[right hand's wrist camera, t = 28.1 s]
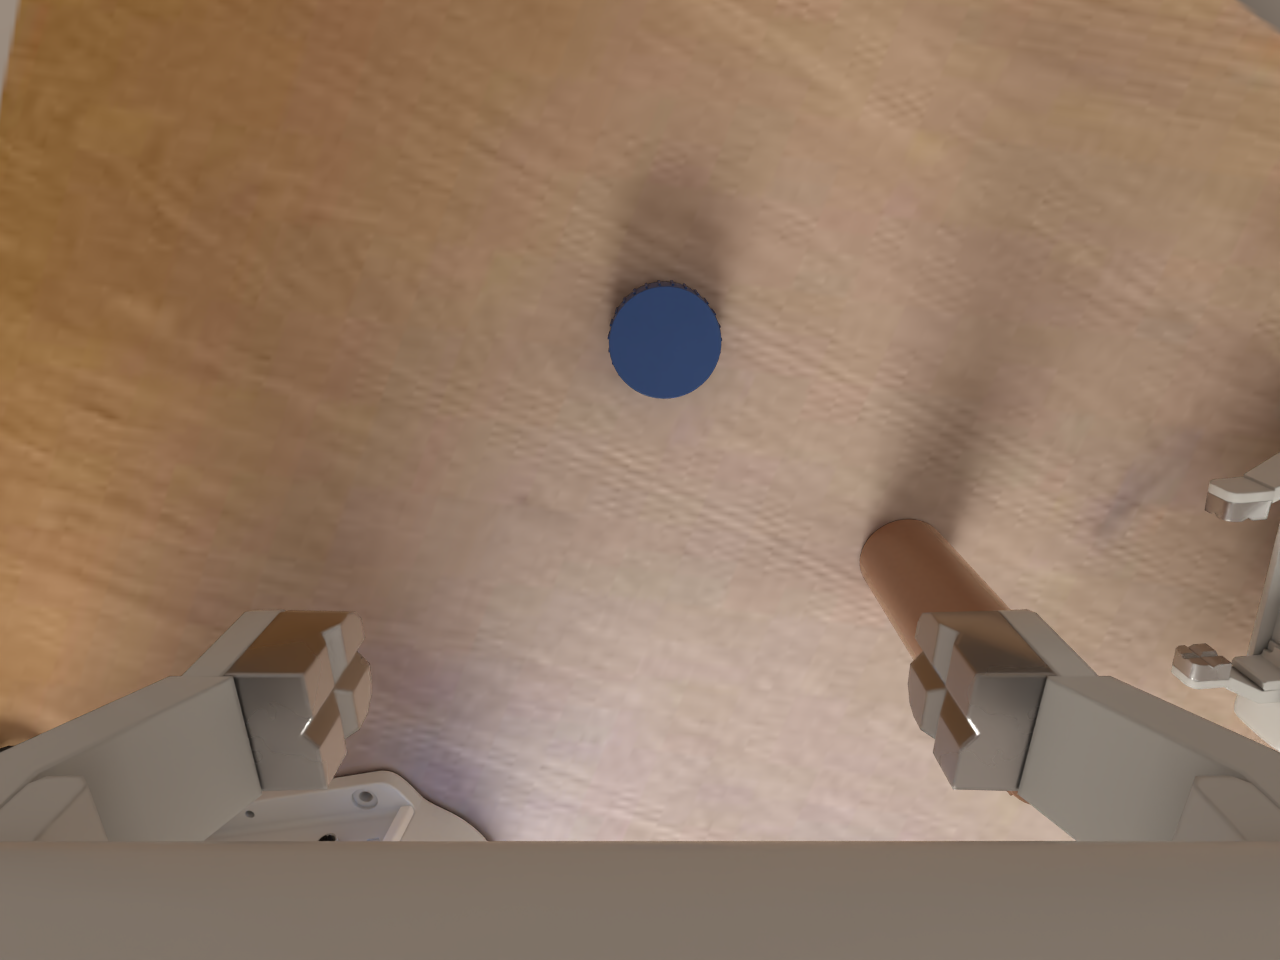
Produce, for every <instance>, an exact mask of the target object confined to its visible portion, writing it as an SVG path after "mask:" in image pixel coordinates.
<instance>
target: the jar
mask: <svg viewBox="0 0 1280 960" xmlns="http://www.w3.org/2000/svg"><path fill="white" fill-rule="evenodd" d="M860 570H861V573H862V575H863V578H864V579H865V581H866V583H867V584H868V586H869V588H870V589H871V591H872V593H873V594H874V596H875V597H876V599H877V601H878V602H879V604H880V606H881V607H882V609H883V611H884V612H885V614H886V616H887V617H888V619H889V621H890V622H891V624H892V625H893V627H894V629H895V630H896V632H897V634H898V635H899V637H900V639H901V640H902V642H903V644H904V645H905V647H906V648H907V650H908V652H909V653H910V655H911V657H912V658H913V660H915V659H916V658H917V657H918V656H919V654H920V653H921V652H922V651H923V650H922V649H921V647H920V645H919V644H918V642H917V641H916V639H915V634H916V628H917V623H918V621H919V618H920V616H921V614H922V613H928V612H964V611H998V610H1011V609H1010V608H1009V607H1008V606H1007V605H1006V604H1005V603H1004V602H1003V601H1002V600H1001V599H1000V598H999V596H998V595H997V594H996V593H995V592H994V591H993V590H992V589H991V588H990V587H989V586H988V585H987V583H986V582H985V581H984V580H983V579H982V578H981V577H980V576H979V575H978V574H977V573H976V572H975V571H974V569H973V568H972V567H971V566H970V565H969V564H968V563H967V562H966V561H965V560H964V559H963V558H962V556H961V555H960V554H959V553H958V552H957V551H956V550H955V549H954V548H953V547H952V546H951V545H950V544H949V542H948V541H947V540H946V539H945V538H944V537H943V536H942V535H941V534H940V533H939V532H938V531H937V530H936V529H935V528H934V527H933V526H931V525H930V524H928V523H925V522H923V521H919V520H913V519H904V520H898V521H894V522H891V523H888V524H886V525H884V526H883V527H881V528H879V529H878V530H877V531H875V532H874V533H873V534H872V535H871V536H870V537H869V539H868V540H867V541H866V543H865V545H864V547H863V549H862V552H861V556H860ZM1007 792H1008V793H1009V794H1010V795H1014V796H1015V797H1017V798H1018V799H1019V800H1021V801H1023V802H1025V803H1028V802H1027V801H1026V800H1024V799H1023V798H1022V797H1021V796H1019V795H1018V794H1017V793H1018V791H1007ZM1028 804H1029V803H1028ZM1030 805H1031V804H1030Z"/></svg>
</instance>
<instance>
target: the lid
mask: <svg viewBox="0 0 1280 960" xmlns="http://www.w3.org/2000/svg"><path fill="white" fill-rule="evenodd" d="M708 304H709V303H708V302H707V300H706V299H705V298H704V299H703V298H702V297H701V296H700V295H699V293H698V292H697V291H696V290H692V289H690V288H689V287H687V286H686V285H685V284H684V283H683V285H682V284H679V283H675V282H673V280H671V281H670V282H667V281H663V282H660V280H658V282H654V283H650V284H647V283H645V285H644V286H642V287H640V288H638V289H633V292H632V293H631V294H630V295H628V296H627V297H624V298H623V302H622V303H621V305H620V306H619V307H617V308H616V311H615V316H614V319H611V323H610V326H611V330H610V331H609V335H608V339H609V350H608V351H609V352H610V356H611V359H612V364H613V365H614V367H615V369H616V371H617V373H618V375H619V376H620V377H621V378H622V379H623V381H624V382H625V383H626V384H628V385H629V386H630V387H631V388H633V389H634V390H635V391H637V392H639V393H641V394H643V395H646V396H649V397H654V398H661V399H667V398H675V397H680V396H683V395H685V394H688V393H690V392H692V391H693V390H695V389H697V388H698V387H699V386H701V385H702V384H703V383H704V382H705V381H706V380H707V379H708V377H709V376H710V375H711V373H712V372H713V370H714V368H715V367H716V364H717V362H718V359H719V355H720V353H721V352H720V351H721V341H722V338H721V332H720V325H719V323H718V321H717V319H716V317H715V315H716V313H715V312H714V311H713V309H711V308H710V307H709V306H708Z"/></svg>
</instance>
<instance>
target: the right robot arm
mask: <svg viewBox="0 0 1280 960" xmlns="http://www.w3.org/2000/svg"><path fill="white" fill-rule="evenodd" d="M364 639H365V634H364V629H363V624H362V620H361V617H360V616H359V615H358V614H357V613H356V612H355V611H305V610H287V611H285V610H253V611H248V612H244V613H243V614H242V616H241V617H240V618H239V619H238V620H237V621H236V622H235V623H234V624H233V625H232V626H231V627H230V628H229V629H228V630H227V631H226V632H225V633H224V634H223V635H222V636H221V637H220V638H219V639H218V640H217V641H216V642H215V643H214V644H213V645H212V646H211V647H210V648H209V649H208V650H207V651H206V652H205V653H204V654H203V655H202V656H201V657H200V658H199V659H198V660H197V661H196V662H195V663H194V664H193V665H192V666H191V667H190V668H189V669H188V670H187V671H186V672H185V673H184V674H183V675H182V676H169V677H167V678H165V679H162V680H160V681H158V682H156V683H153V684H151V685H149V686H147V687H145V688H142V689H140V690H138V691H136V692H133V693H131V694H129V695H127V696H125V697H122V698H120V699H118V700H116V701H113V702H111V703H109V704H107V705H105V706H102V707H100V708H98V709H96V710H93V711H91V712H89V713H87V714H85V715H82V716H80V717H78V718H76V719H73V720H71V721H69V722H67V723H64V724H62V725H60V726H58V727H56V728H53V729H51V730H49V731H47V732H44V733H42V734H40V735H38V736H36V737H33V738H31V739H29V740H27V741H24V742H22V743H20V744H18V745H16V746H7V747H3V748H0V960H1280V752H1277V751H1275V750H1273V749H1271V748H1268V747H1266V746H1264V745H1262V744H1260V743H1257V742H1255V741H1253V740H1251V739H1248V738H1246V737H1244V736H1242V735H1240V734H1237V733H1235V732H1233V731H1231V730H1229V729H1226V728H1224V727H1222V726H1220V725H1217V724H1215V723H1213V722H1211V721H1209V720H1206V719H1204V718H1202V717H1200V716H1197V715H1195V714H1193V713H1191V712H1189V711H1186V710H1184V709H1182V708H1180V707H1178V706H1175V705H1173V704H1171V703H1169V702H1166V701H1164V700H1162V699H1160V698H1158V697H1155V696H1153V695H1151V694H1149V693H1146V692H1144V691H1142V690H1140V689H1138V688H1135V687H1133V686H1131V685H1129V684H1127V683H1124V682H1122V681H1120V680H1118V679H1115V678H1113V677H1111V676H1098V675H1097V674H1096V673H1095V672H1094V671H1093V670H1092V669H1091V668H1090V667H1089V666H1088V665H1087V664H1086V663H1085V662H1084V661H1083V660H1082V659H1081V658H1080V657H1079V656H1078V655H1077V654H1076V653H1075V652H1074V651H1073V650H1072V649H1071V648H1070V647H1069V646H1068V645H1067V644H1066V643H1065V642H1064V641H1063V640H1062V639H1061V638H1060V637H1059V635H1058V634H1057V633H1056V632H1055V631H1054V630H1053V629H1052V628H1051V627H1050V626H1049V625H1048V624H1047V623H1046V622H1045V621H1044V620H1043V619H1042V618H1041V617H1040V616H1039V615H1038V614H1037V613H1035V612H1032V611H1030V610H1027V609H1024V610H998V611H964V612H928V613H922V614H921V616H920V618H919V621H918V623H917V628H916V634H915V639H916V641H917V642H918V644H919V645H920V647H921V649H922V650H923V651H922V652H921V653H920V654H919V656H918V657H917V658H916V659H915V660H914V661H913V662H912V663H911V664H910V671H909V678H908V691H909V702H910V706H911V709H912V712H913V716H914V718H915V720H916V722H917V724H918V726H919V728H920V730H922V731H923V732H925V733H926V734H928V735H929V736H931V737H932V738H934V739H935V743H934V749H933V754H934V756H935V757H936V759H937V761H938V763H939V765H940V767H941V768H942V770H943V772H944V774H945V776H946V777H947V779H948V781H949V783H950V785H951V787H952V788H953V789H960V790H996V791H1018V793H1017V794H1018V795H1019V796H1021V797H1022V798H1023V799H1024V800H1026V801H1027V802H1028V803H1029V804H1031V805H1032V806H1033V807H1034V808H1036V809H1037V810H1038V811H1040V812H1041V813H1042V814H1043V815H1045V816H1046V817H1047V818H1048V819H1050V820H1051V821H1052V822H1053V823H1055V824H1056V825H1057V826H1058V827H1060V828H1061V829H1062V830H1064V831H1065V832H1066V833H1067V834H1069V835H1070V836H1071V837H1072V838H1074V839H1075V840H1076V841H487V840H486V839H485V838H484V837H483V835H482V834H481V833H480V832H478V831H477V830H476V829H475V828H474V827H473V826H471V825H470V824H469V823H467V822H466V821H465V820H463V819H461V818H460V817H458V816H457V815H455V814H453V813H451V812H449V811H447V810H445V809H443V808H441V807H439V806H436V805H434V804H433V803H431V802H429V801H427V800H426V799H424V798H423V797H422V796H421V795H420V794H419V793H418V792H417V791H416V790H415V789H414V788H413V787H412V786H411V785H410V784H409V783H408V782H407V781H406V780H404V779H403V778H402V777H401V776H399V775H397V774H396V773H393V772H390V771H375V772H369V773H363V774H356V775H350V776H344V777H338V778H334V776H335V774H336V772H337V770H338V768H339V767H340V765H341V763H342V761H343V759H344V757H345V756H346V754H347V749H346V743H345V739H346V738H348V737H349V736H351V735H352V734H354V733H355V732H357V731H358V730H360V728H361V726H362V724H363V722H364V720H365V718H366V716H367V713H368V709H369V704H370V700H371V695H372V676H371V670H370V664H369V663H368V662H367V661H366V660H365V659H364V658H363V657H362V656H361V655H360V653H359V652H358V651H357V650H358V649H359V647H360V645H361V644H362V642H363V641H364ZM367 792H369V793H367Z"/></svg>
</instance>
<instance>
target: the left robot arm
mask: <svg viewBox="0 0 1280 960" xmlns="http://www.w3.org/2000/svg"><path fill="white" fill-rule="evenodd" d="M1278 500H1280V452H1279V453H1277V454H1276V455H1274V456H1272V457H1271V458H1269V459H1268V460H1266V461H1264V462H1263V463H1261V464H1260V465H1258V466H1256V467H1255V468H1253V469H1251V470H1250V471H1248V472H1247V473H1245V474H1244V476H1243V477H1234V478H1224V479H1214V480H1211V481H1210V483H1209V488H1208V493H1207V499H1206V505H1205V511H1207V512H1209V513H1215V514H1216V516H1217V517H1218V518H1220V519H1222V520H1226V521H1231V522H1242V521H1244V520H1245V519H1247V518H1248V519H1250V520H1252V521H1253V520H1263V519H1267V517H1268V513H1269V509H1270V506H1271V503H1274V502H1276V501H1278ZM1171 672H1172V674H1174V675H1175V676H1176V677H1177V678H1178V679H1179V680H1180V681H1182V682H1183V683H1184V684H1185V685H1186V686H1188V687H1191V688H1194V689H1209V688H1222V687H1225V688H1226V689H1227V690H1230V691H1232V692H1234V693H1236V694H1237V696H1236V700H1235V703H1234V711H1235V713H1236V715H1237V716H1238V717H1239V719H1240V720H1241V721H1243V722H1244V723H1245V724H1246V725H1247V726H1248V727H1249V728H1250V729H1251V730H1252V731H1253V732H1255V733H1256V734H1257V735H1258V736H1259V737H1260V738H1261V739H1263V740H1264V741H1265V742H1267V743H1268V744H1269V745H1270V746H1272V747H1273V748H1274V749H1276V750H1277V751H1279V752H1280V523H1279V527H1278V531H1277V535H1276V539H1275V543H1274V547H1273V551H1272V555H1271V559H1270V563H1269V567H1268V571H1267V575H1266V579H1265V583H1264V588H1263V592H1262V596H1261V600H1260V604H1259V608H1258V612H1257V616H1256V620H1255V624H1254V628H1253V632H1252V636H1251V640H1250V644H1249V648H1248V652H1247V656H1241V657H1234V658H1233V660H1232V663H1231V662H1229V661H1228V660H1227V659H1226V658H1224V657H1223V656H1218V655H1217V653H1216V651H1215V650H1214V649H1212V648H1211V647H1210V646H1209V645H1207V644H1193V645H1192V646H1190V647H1187V646H1185V645H1182V646H1178V647H1177V648H1176V650H1175V655H1174V659H1173V665H1172V670H1171Z"/></svg>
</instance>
